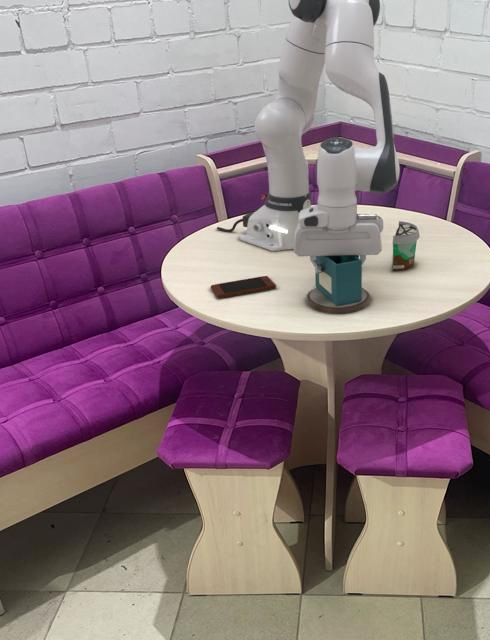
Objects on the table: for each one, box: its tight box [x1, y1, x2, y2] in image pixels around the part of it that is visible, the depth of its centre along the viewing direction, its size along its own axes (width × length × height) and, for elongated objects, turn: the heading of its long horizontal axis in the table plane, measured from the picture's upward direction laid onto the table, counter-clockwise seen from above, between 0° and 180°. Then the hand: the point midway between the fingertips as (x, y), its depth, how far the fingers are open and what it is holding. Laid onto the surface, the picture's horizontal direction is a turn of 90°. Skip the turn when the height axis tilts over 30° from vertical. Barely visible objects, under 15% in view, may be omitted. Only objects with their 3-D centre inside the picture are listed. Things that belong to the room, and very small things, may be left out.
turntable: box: [306, 287, 371, 315], centre depth 179 cm, size 15×15×2 cm
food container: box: [392, 220, 421, 272], centre depth 195 cm, size 12×6×10 cm, turn 168°
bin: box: [314, 255, 363, 306], centre depth 176 cm, size 7×12×10 cm, turn 25°
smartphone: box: [210, 275, 277, 299], centre depth 185 cm, size 7×1×15 cm
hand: (338, 272), depth 175 cm, fingers open, 8 cm apart
